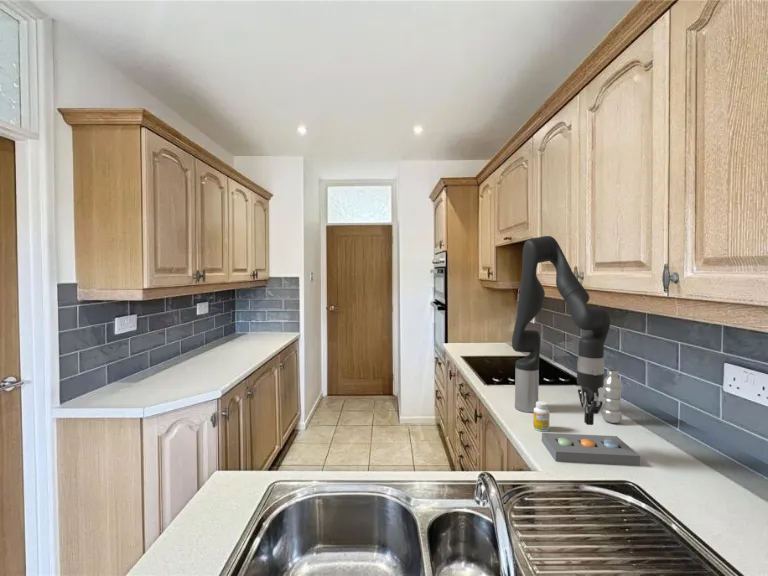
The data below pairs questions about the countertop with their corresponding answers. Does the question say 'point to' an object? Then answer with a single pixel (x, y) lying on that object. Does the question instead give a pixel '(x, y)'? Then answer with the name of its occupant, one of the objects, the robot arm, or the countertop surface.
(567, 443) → the green button
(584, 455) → the button box
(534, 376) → the robot arm
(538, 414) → the supplement bottle
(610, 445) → the blue button
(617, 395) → the plastic bottle
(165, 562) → the countertop surface
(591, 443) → the orange button
